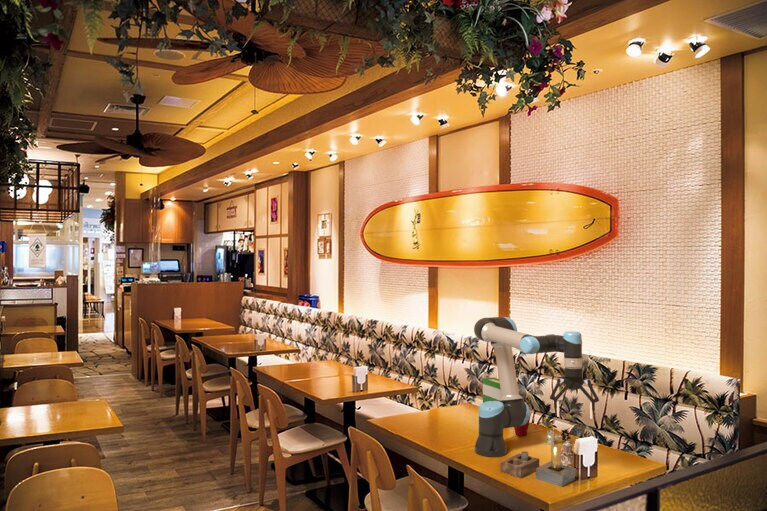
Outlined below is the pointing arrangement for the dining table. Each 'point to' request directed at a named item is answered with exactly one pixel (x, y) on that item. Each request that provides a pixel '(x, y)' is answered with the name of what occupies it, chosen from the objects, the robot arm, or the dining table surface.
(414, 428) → the dining table surface
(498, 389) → the hardback book
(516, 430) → the plastic cup
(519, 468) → the box
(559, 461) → the translucent yellow cylinder
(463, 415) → the dining table surface
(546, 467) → the socket block
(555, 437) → the valve
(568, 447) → the figurine
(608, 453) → the dining table surface
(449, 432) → the dining table surface
